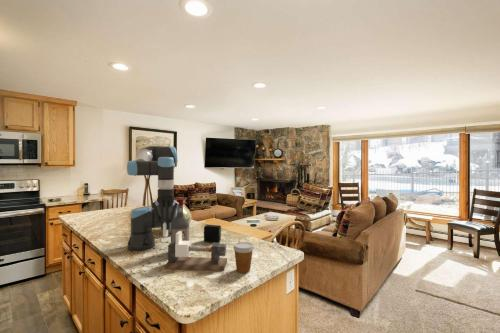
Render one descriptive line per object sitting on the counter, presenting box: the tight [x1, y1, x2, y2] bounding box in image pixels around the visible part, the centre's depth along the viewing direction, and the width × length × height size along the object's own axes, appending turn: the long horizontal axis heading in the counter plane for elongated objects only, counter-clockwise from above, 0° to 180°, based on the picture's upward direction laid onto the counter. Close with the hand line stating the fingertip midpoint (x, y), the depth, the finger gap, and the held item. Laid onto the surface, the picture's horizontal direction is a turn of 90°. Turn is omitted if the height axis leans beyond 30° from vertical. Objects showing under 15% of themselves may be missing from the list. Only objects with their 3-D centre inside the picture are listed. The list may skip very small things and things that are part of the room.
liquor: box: [170, 198, 190, 243], centre depth 138 cm, size 9×9×30 cm
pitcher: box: [168, 197, 192, 234], centre depth 180 cm, size 22×24×25 cm
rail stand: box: [165, 241, 228, 272], centre depth 121 cm, size 28×10×10 cm, turn 87°
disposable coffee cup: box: [233, 241, 254, 274], centre depth 116 cm, size 10×10×12 cm
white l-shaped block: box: [175, 231, 192, 257], centre depth 121 cm, size 6×6×11 cm
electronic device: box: [203, 224, 222, 244], centre depth 158 cm, size 4×10×10 cm, turn 78°
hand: (165, 236), depth 121 cm, fingers closed
